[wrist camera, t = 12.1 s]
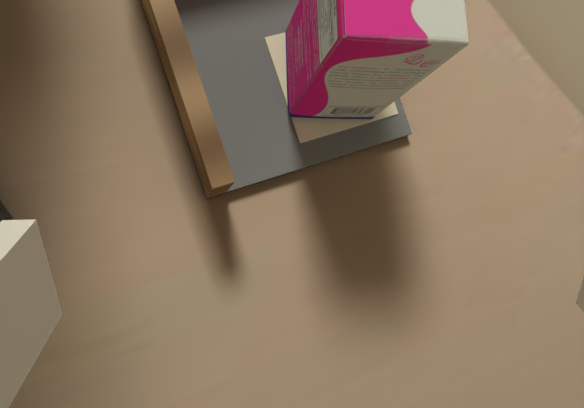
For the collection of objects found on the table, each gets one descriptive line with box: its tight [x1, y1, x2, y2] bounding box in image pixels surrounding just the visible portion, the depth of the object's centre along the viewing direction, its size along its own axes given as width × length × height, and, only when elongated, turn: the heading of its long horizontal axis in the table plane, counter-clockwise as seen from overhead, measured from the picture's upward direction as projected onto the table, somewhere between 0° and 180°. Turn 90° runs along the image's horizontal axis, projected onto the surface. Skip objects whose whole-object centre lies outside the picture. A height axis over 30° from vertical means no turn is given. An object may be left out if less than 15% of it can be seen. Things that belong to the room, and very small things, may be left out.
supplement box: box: [286, 0, 469, 119], centre depth 27 cm, size 6×6×12 cm
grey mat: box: [141, 0, 412, 198], centre depth 32 cm, size 16×14×1 cm
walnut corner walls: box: [141, 0, 235, 199], centre depth 30 cm, size 16×14×5 cm
